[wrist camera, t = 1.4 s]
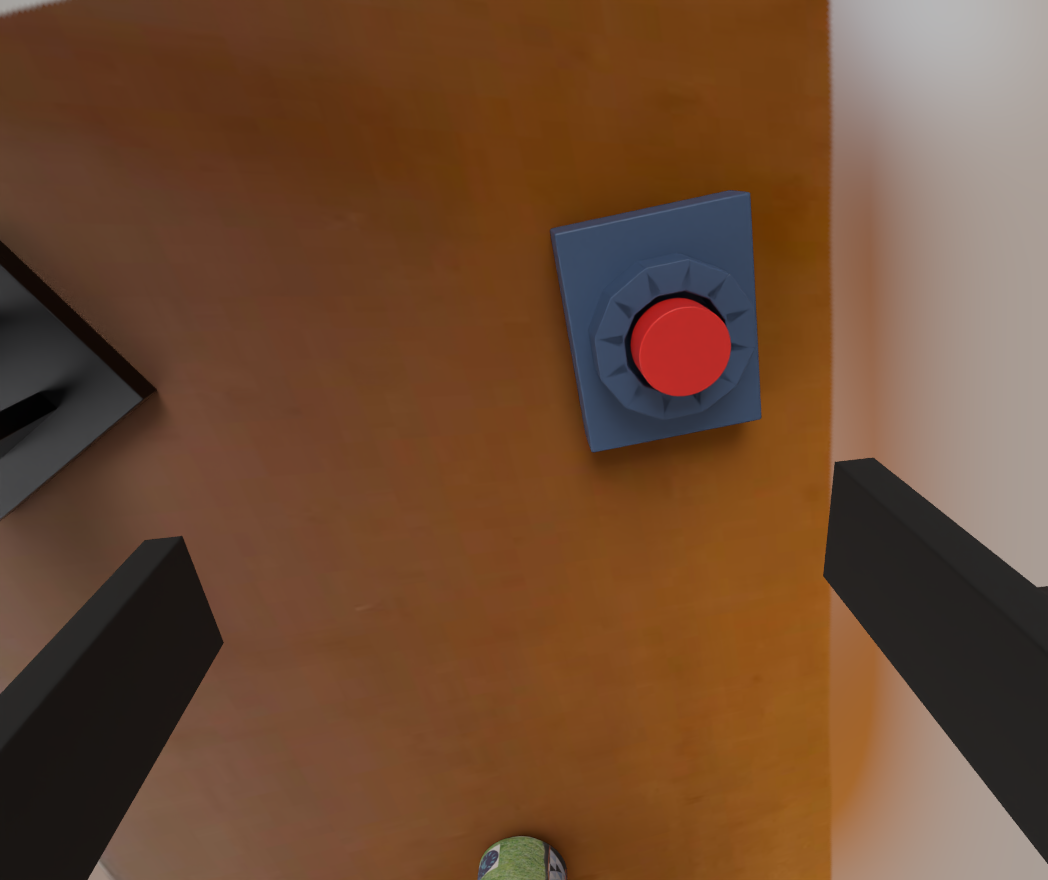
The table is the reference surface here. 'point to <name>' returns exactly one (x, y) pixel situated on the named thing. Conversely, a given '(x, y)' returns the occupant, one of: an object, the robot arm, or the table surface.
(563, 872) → the beverage can
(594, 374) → the button box
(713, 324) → the button
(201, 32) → the table surface
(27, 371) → the bracket
